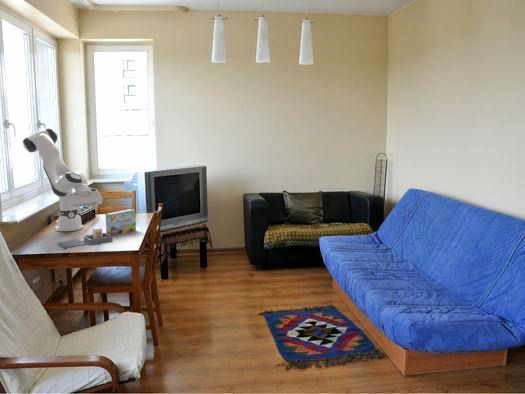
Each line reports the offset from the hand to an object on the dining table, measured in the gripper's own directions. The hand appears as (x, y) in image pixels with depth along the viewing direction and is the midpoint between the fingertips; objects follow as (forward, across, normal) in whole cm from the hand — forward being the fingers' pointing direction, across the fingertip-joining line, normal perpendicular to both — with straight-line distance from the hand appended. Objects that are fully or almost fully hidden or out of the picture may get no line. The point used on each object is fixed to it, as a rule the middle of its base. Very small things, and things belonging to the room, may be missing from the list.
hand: (88, 210), depth 290 cm
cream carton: (+21, +1, +4) cm, 22 cm away
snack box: (+12, +21, +16) cm, 28 cm away
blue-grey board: (+20, -14, +6) cm, 25 cm away
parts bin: (+22, +1, +5) cm, 22 cm away
